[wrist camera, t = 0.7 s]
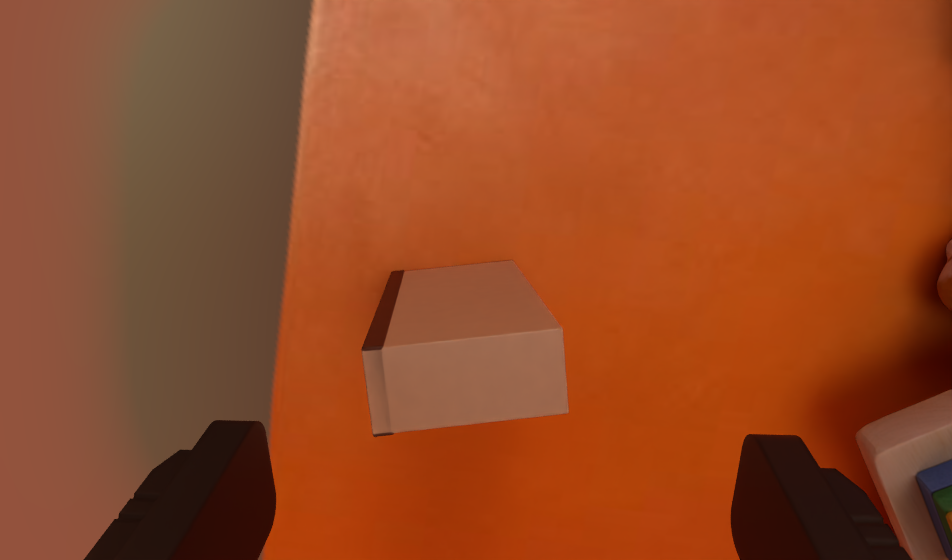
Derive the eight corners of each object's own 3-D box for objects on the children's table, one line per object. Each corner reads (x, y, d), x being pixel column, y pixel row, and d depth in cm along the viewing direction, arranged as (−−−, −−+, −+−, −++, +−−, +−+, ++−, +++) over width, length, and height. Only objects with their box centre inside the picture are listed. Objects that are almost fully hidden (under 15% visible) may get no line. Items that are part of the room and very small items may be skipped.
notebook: (391, 271, 30) (360, 347, 18) (513, 258, 30) (562, 326, 18) (397, 327, 30) (372, 437, 18) (517, 314, 30) (569, 415, 19)
